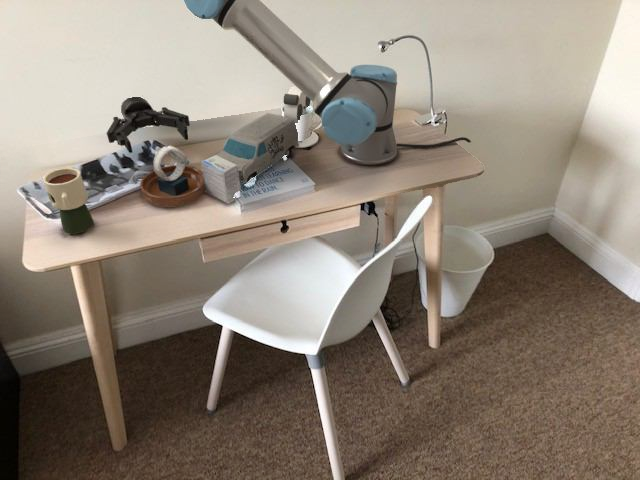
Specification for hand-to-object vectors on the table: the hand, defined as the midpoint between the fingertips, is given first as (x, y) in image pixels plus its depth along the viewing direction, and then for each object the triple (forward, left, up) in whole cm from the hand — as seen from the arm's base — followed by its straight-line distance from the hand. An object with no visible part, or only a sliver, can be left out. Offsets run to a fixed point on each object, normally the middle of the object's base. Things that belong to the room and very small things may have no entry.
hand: (158, 141), depth 124 cm
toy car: (-22, -8, -10) cm, 25 cm away
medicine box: (-16, +7, -10) cm, 20 cm away
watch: (-4, +6, -10) cm, 12 cm away
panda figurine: (-30, -24, -10) cm, 40 cm away
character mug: (+12, +23, -10) cm, 28 cm away
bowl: (-4, +6, -10) cm, 12 cm away
